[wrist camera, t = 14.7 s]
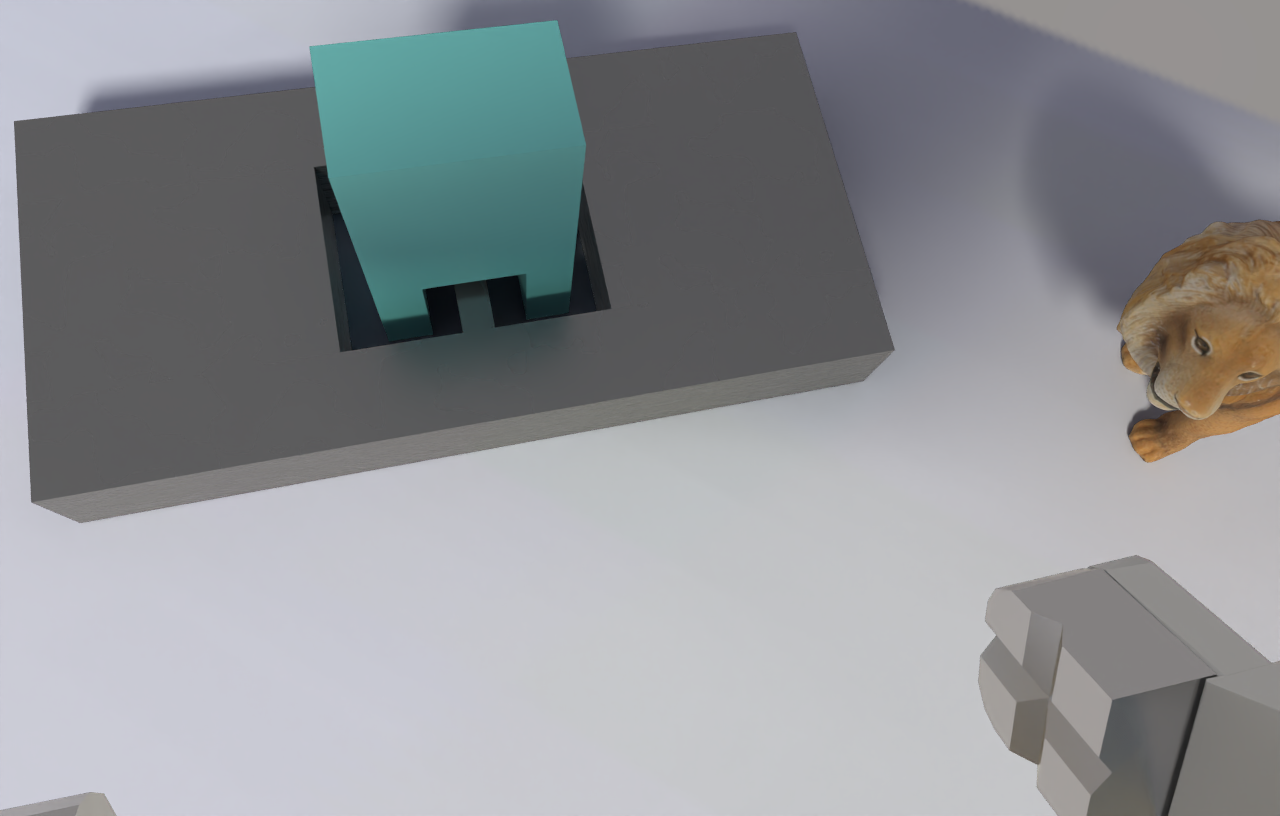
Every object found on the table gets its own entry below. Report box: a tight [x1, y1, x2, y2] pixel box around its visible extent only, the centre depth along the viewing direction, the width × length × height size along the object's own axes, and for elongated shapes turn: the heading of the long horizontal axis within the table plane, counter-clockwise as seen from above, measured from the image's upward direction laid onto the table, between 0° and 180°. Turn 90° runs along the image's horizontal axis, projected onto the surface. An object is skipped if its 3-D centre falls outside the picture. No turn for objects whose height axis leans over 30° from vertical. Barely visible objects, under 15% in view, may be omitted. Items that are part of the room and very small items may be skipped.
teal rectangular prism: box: [310, 20, 586, 341], centre depth 23 cm, size 5×3×8 cm, turn 102°
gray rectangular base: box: [14, 32, 895, 523], centre depth 26 cm, size 21×10×2 cm, turn 102°
